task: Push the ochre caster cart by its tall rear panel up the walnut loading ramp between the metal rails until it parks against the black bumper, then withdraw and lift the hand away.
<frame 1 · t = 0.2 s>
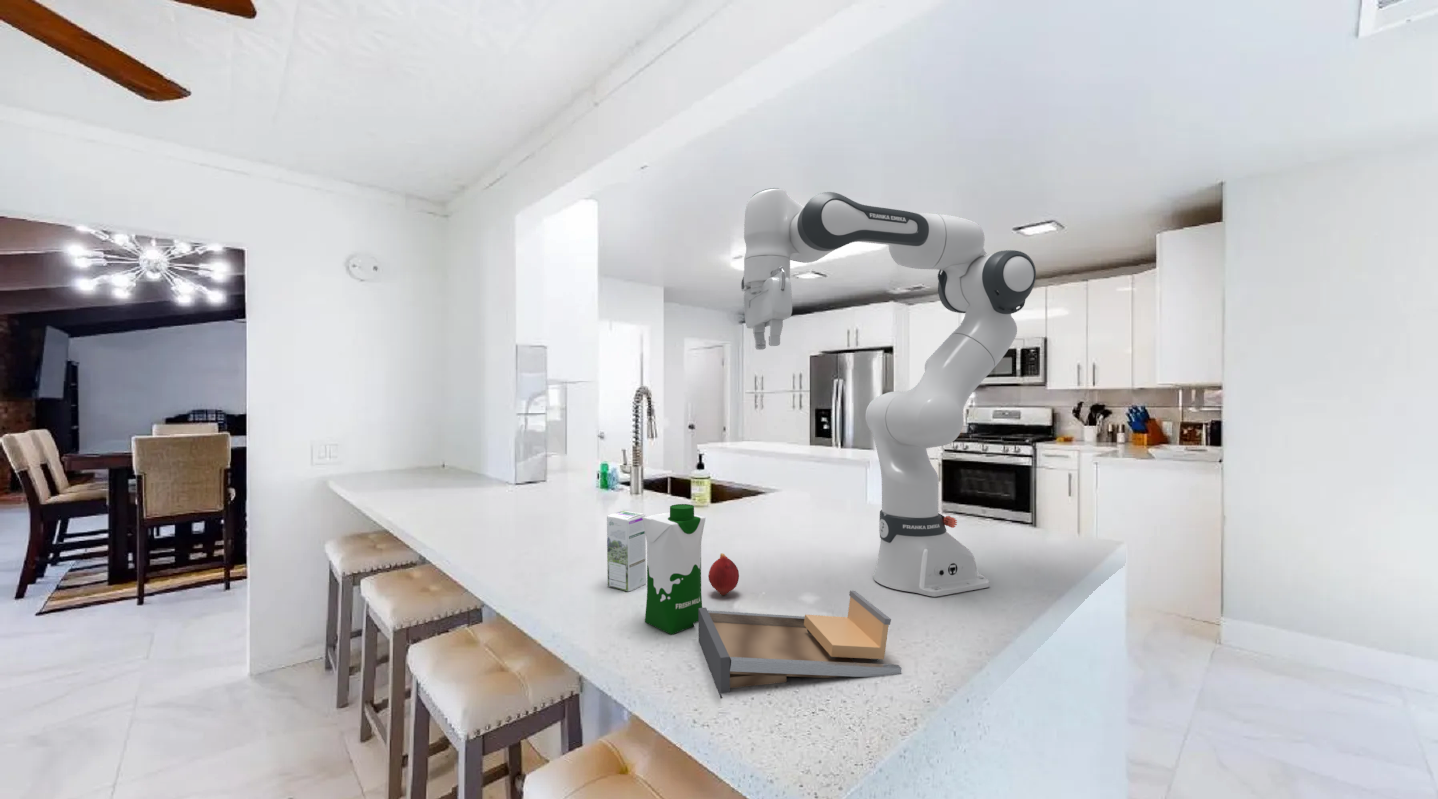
hand: (767, 347, 110), 47 cm above the worktop, fingers open, 8 cm apart
syrup box: (626, 586, 115), on the worktop
onion: (723, 596, 110), on the worktop
dock: (796, 658, 84), on the worktop
cart: (844, 627, 85), point 4 cm above the worktop, slide at 0.0 cm
milk carton: (673, 623, 97), on the worktop
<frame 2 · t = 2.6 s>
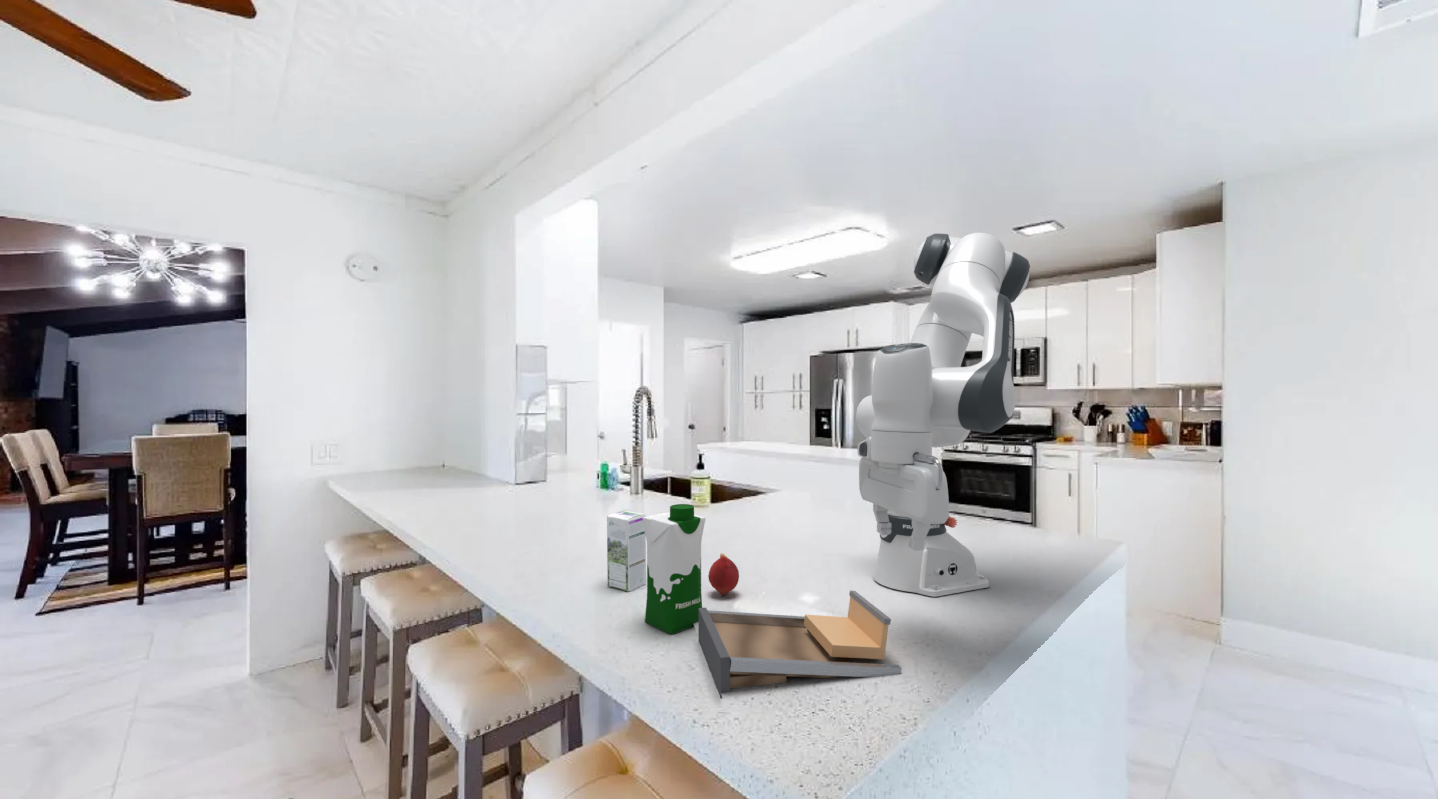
hand: (899, 541, 87), 16 cm above the worktop, fingers open, 8 cm apart
nothing on the worktop moved.
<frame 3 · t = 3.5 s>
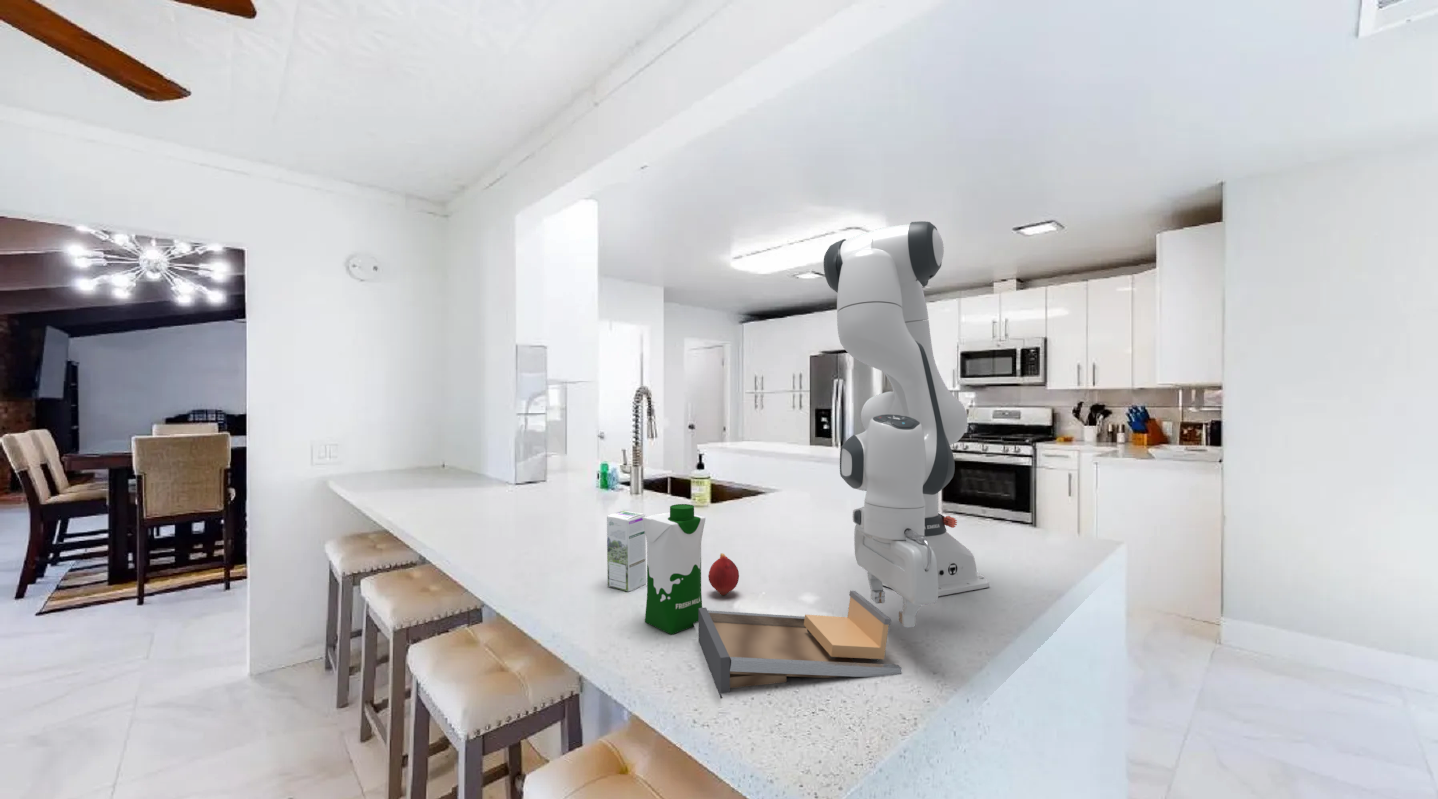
hand: (891, 613, 87), 5 cm above the worktop, fingers open, 8 cm apart
nothing on the worktop moved.
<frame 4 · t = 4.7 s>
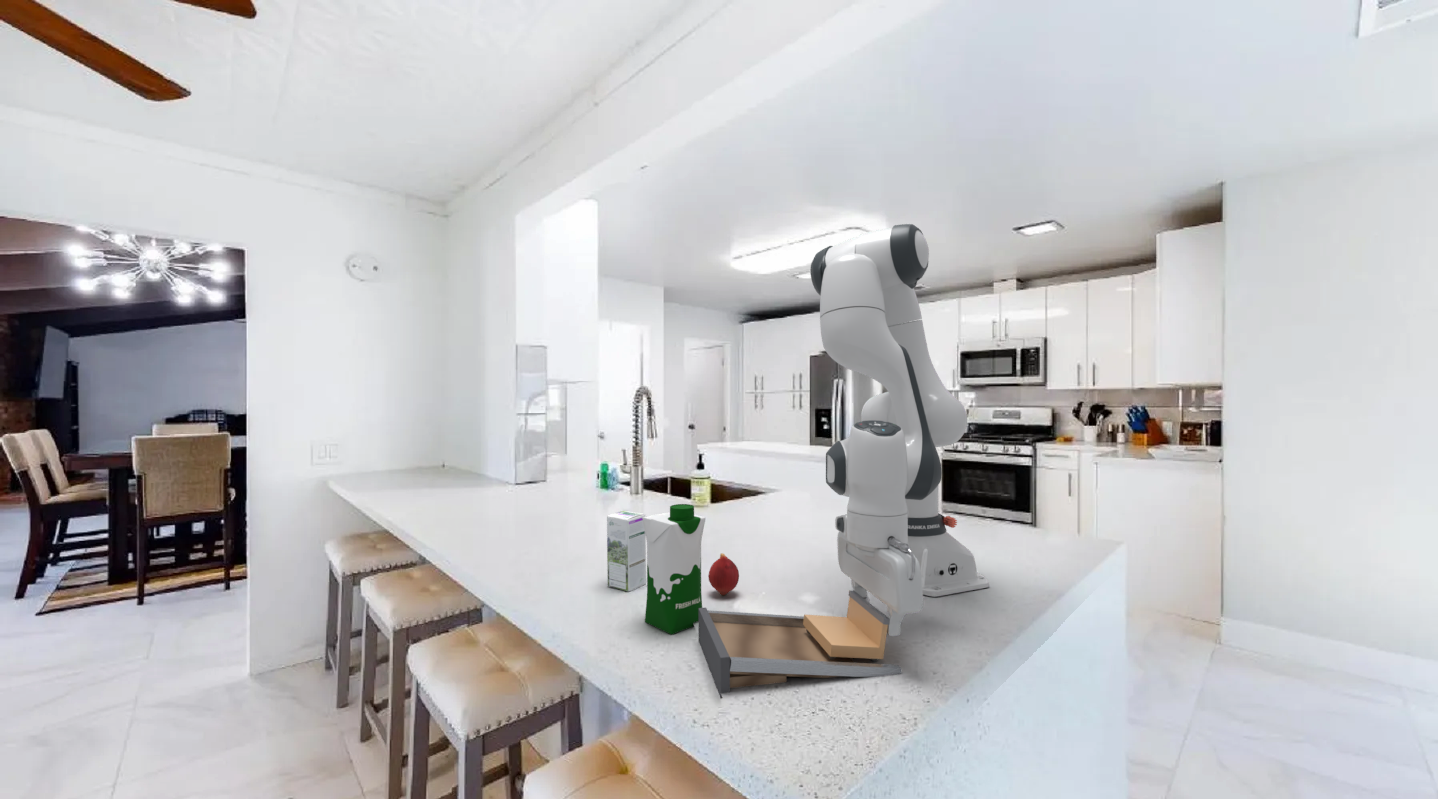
hand: (876, 620, 86), 4 cm above the worktop, fingers open, 8 cm apart
cart: (843, 627, 85), point 4 cm above the worktop, slide at 0.1 cm, touching gripper
everything else where it was.
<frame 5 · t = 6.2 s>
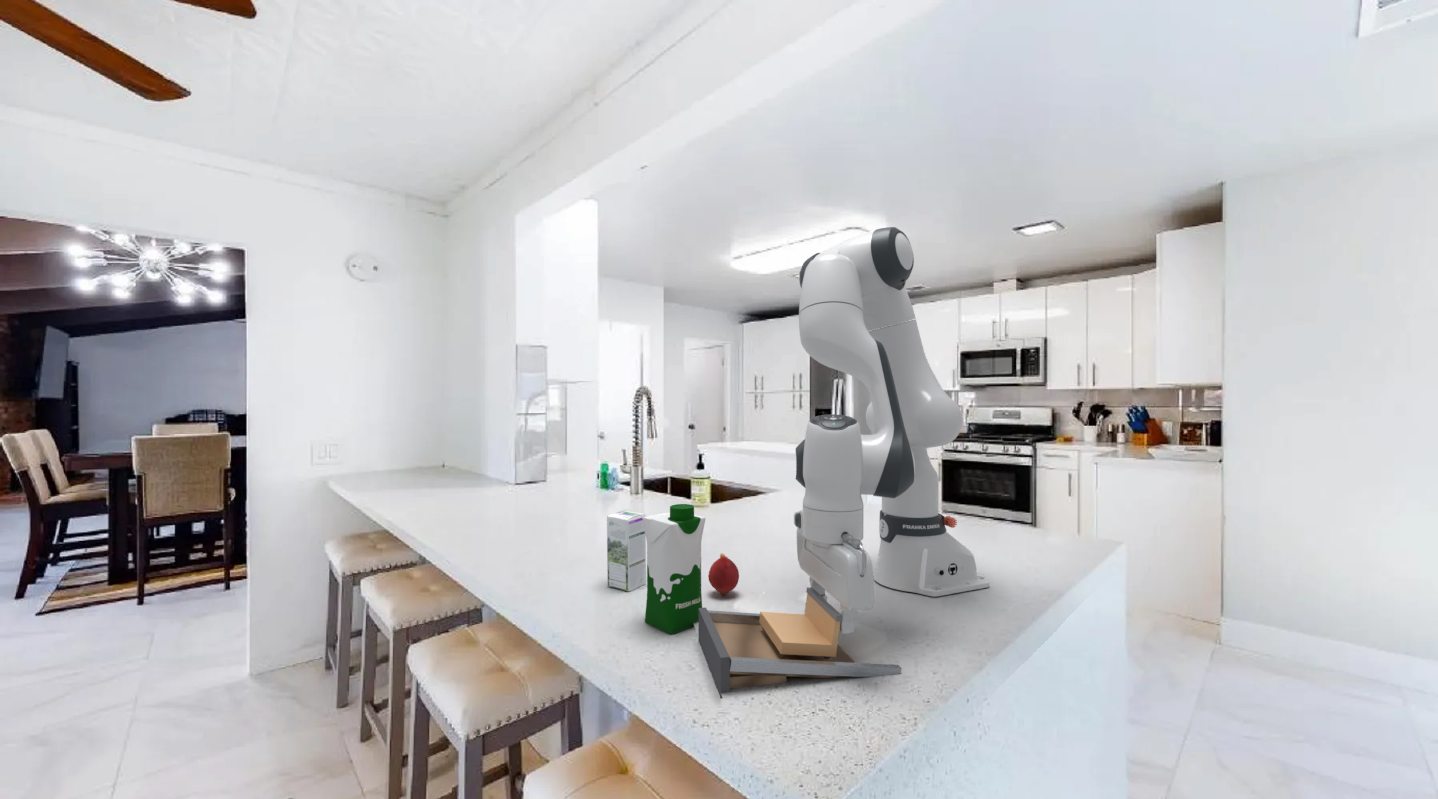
hand: (832, 618, 85), 5 cm above the worktop, fingers open, 8 cm apart
cart: (798, 624, 84), point 5 cm above the worktop, slide at 7.3 cm, touching gripper
everything else where it was.
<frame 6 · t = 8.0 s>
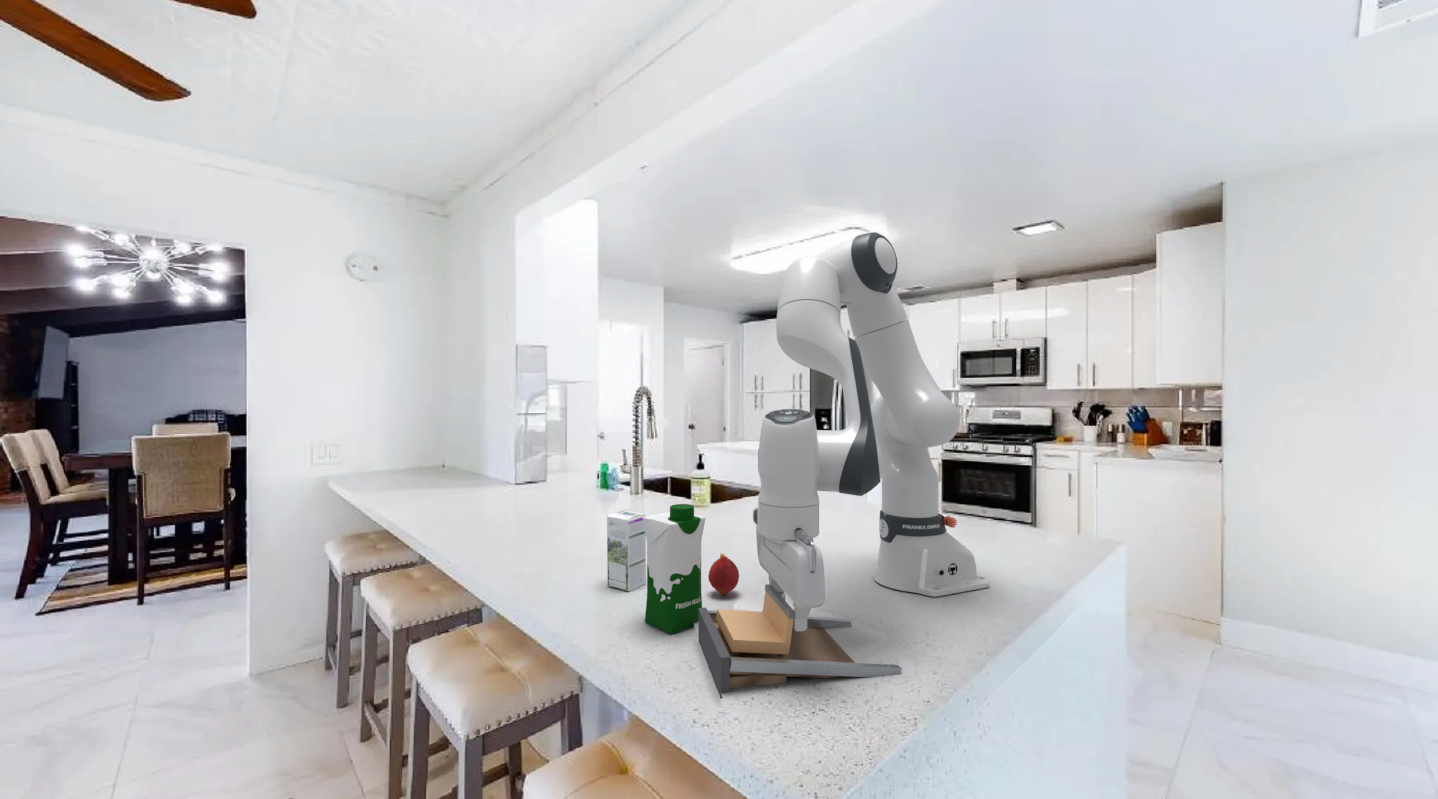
hand: (788, 616, 83), 6 cm above the worktop
cart: (753, 622, 82), point 6 cm above the worktop, slide at 14.2 cm, touching gripper
everything else where it was.
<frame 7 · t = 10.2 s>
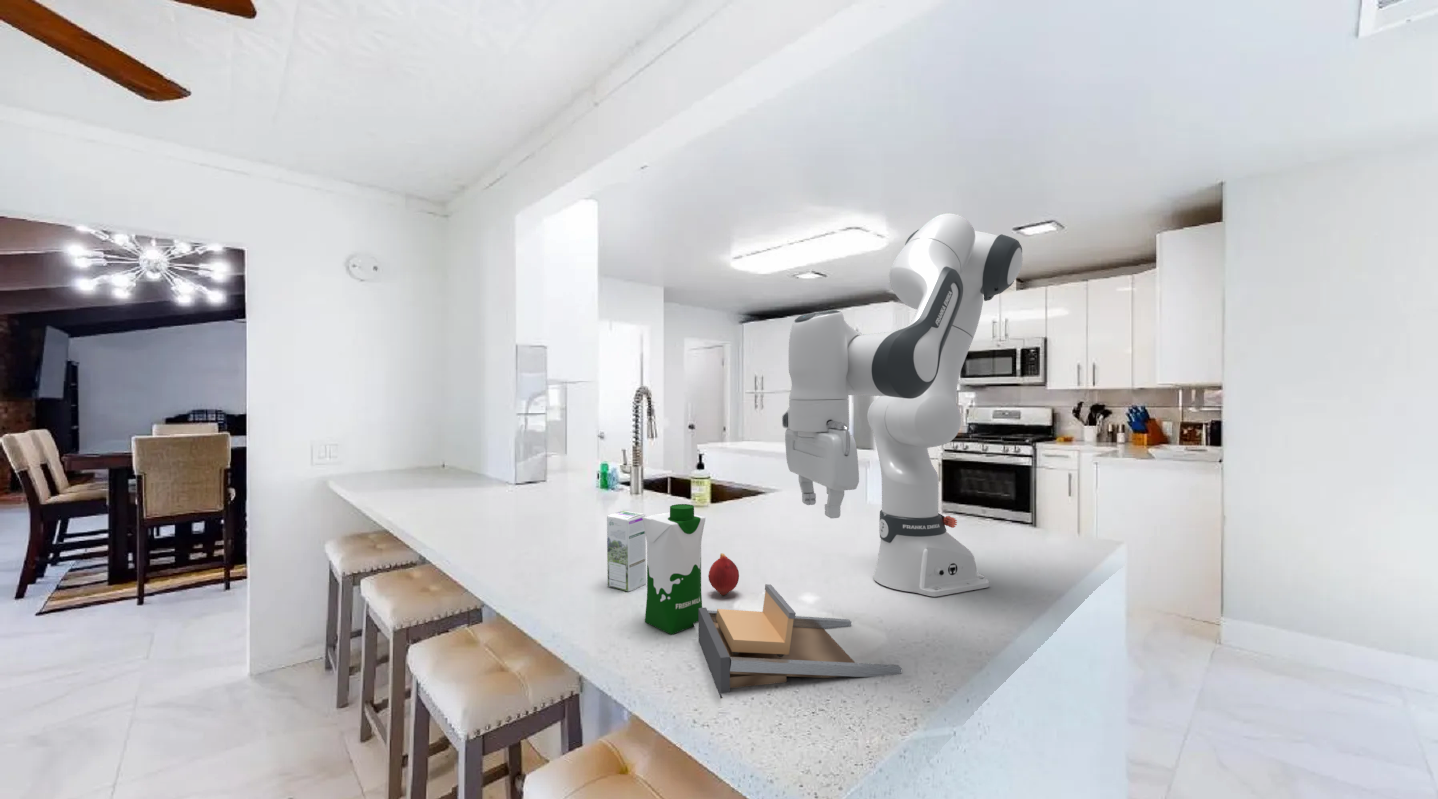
hand: (820, 510, 86), 21 cm above the worktop, fingers open, 8 cm apart
cart: (753, 622, 82), point 6 cm above the worktop, slide at 14.2 cm
everything else where it was.
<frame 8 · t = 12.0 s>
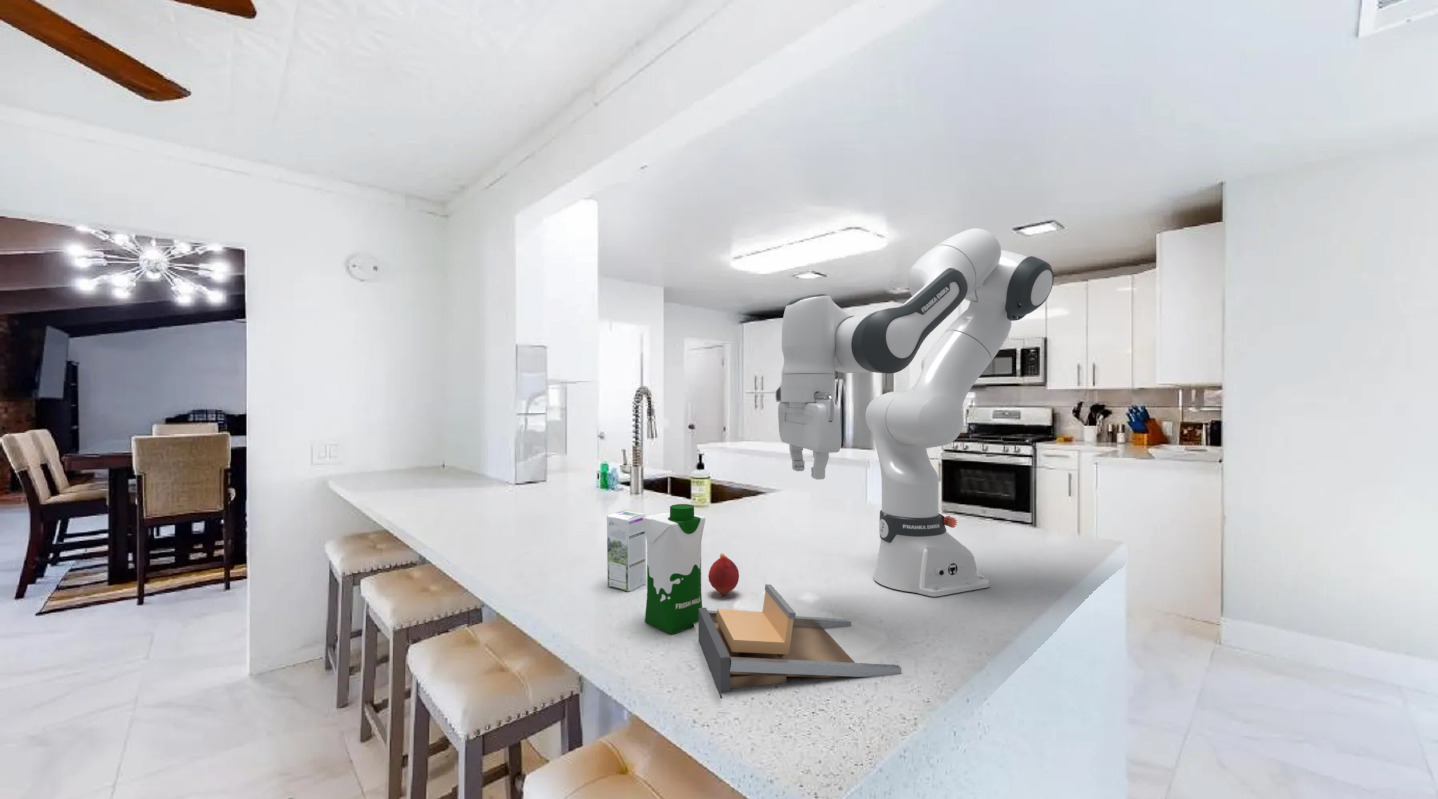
hand: (807, 474, 96), 25 cm above the worktop, fingers open, 8 cm apart
nothing on the worktop moved.
at the end: cart slide at 14.2 cm; the gripper is holding nothing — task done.
